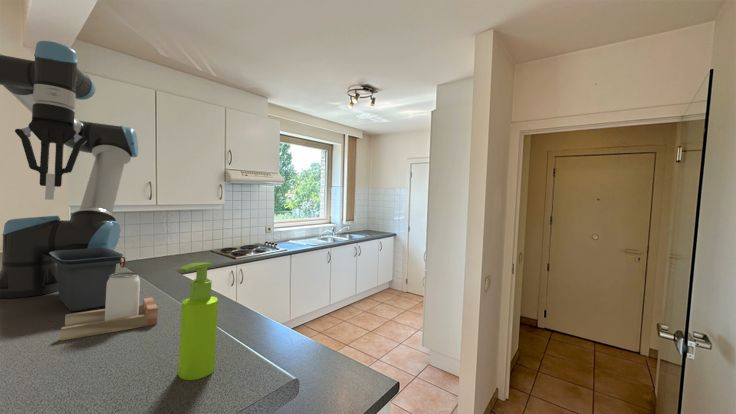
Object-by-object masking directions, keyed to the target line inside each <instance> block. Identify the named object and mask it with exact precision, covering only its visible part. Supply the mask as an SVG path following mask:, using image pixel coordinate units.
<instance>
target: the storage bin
mask: <svg viewBox="0 0 736 414" xmlns="http://www.w3.org/2000/svg"><path fill="white" fill-rule="evenodd" d="M49 254H50V255H51V256H52V257H51V260H52V261H53V262H55V263H56V264H57V275H58V291H57V292H58V299H59V300H60V301H61V303H63V305H65V306H66V308H67V309H68V310H69V311H70V312H79V311H85V310H91V309H95V308H100V307H105V304H106V286H107V281H108V280H109V278H110V277H109V276H110V275H111V274H115V273H116V270H117V264H119V265H120V267H121V268H125V267H126V257H125V256H124V254H123V253H121V252H118V251H116V250H115V249H114V250H111V249H108V248H89V249H73V250H58V251H52V252H50V253H49ZM122 259H123V261H122Z"/></svg>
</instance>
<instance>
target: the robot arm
mask: <svg viewBox="0 0 736 414" xmlns="http://www.w3.org/2000/svg"><path fill="white" fill-rule="evenodd" d="M33 56H34V60H31V59H25V58H20V57H14V56H9V55H3V54H1V53H0V86H3V88H4V89H6V90H7V91H8V92H9V93H11V95H13V96H14V97H15V98H16V99H17V100H18V101H19V102H20V103H21V104H22V105H23V106H24V107H25V108H26V109H27V110H28V111H29V112H31V121H30V122H29V123H28V126H26V127H22V128H15V129H14V132H15V134H16V135H17V136H18V137H19V138H20V140H21V144H22V146H23V150H24V154H25V157H26V160H27V163H28V168H29V169H31V170H34V171H36V172H37V173H39V185H40V186H42V187H45V191H44V192H45V195H44V199H45V201H46V200H51V201H53V200H56V187H59V188H61V186H62V183H63V175H65V174H68V173H72V171H73V169H74V166H75V164H76V162H77V159H78V156H79V154H80V152H82V153H89V154H92V156H93V157H94V161H93V164H92V168H91V171H90V175H89V177H88V182H87V185H86V188H85V191H84V194H83V198H82V199H81V205H80V207H79V209H78V210H77V211H74V212H73V213H72V214H71V216H70V219H69V220H61V218H60V216H59V215H50V216H49V215H45V216H34V217H20V218H12V219H9V220H6V222H5V223H4V226H3V233H2V256H1V259H2V262H1V269H0V299H13V298H14V299H15V298H16V299H17V298H27V297H34V296H41V295H46V294H52V293H54V292H58V275H57V264H56V263H55V262H53V261H52V260H51V257H52V256H51V255H50V254H49V253H50V252H52V251H58V250H73V249H89V248H108V249H111V250H114V251H115V249H116V247H117V245H118V243H119V241H120V233H121V225H120V223H119V222H118V221H117V218H116V217H115V216H114V215H113V212H114V209H115V202H116V201H117V199H116V198H117V196H118V191H119V187H120V183H121V179H122V176H123V171H124V167H125V165H127V164H129V163H130V162H131V160H132V158H137V157H138V156H139V143H138V138H137V133H136V130H135V129H134V128H132V127H127V126H124V125H115V124H114V125H113V124H106V123H105V124H104V123H99V122H90V121H84V120H79V119H78V118H77V117H75V115H76V114H75V113H76V112H75V111H74V109H75V108H76V100H81V101H83V100H88V99H90V98H92V97H93V96H94V95H95V93H96V86H95V83H94V82H93V80H92V79H91V78H90V76H89V75H88V74H87V73H85V72H84V71H82V70H81V69H80V68H79V67H78V63H79V61H78V54H77V52H76V51H75V49H73V48H71V47H69V46H67V45H65V44H62V43H58V42H54V41H50V40H39V41H37V43H35V49H34V54H33ZM31 132H32V134H34V135H35V136H36V137H37V139H38V140H39V141H40V158H39V159H40V160H39V165H38V163H37V160H36V156H35V153H34V152H35V151H34V149H33V146H32V143H31V140H30V139H31V138H30V137H31V136H32V134H31ZM51 144H55V153H54V155H55V158H54V159H55V160H54V173H49V161H50V145H51ZM64 145H65V146H66V147H69V148H71V149H72V150H71V152H70V155H69V158H68V160H67V163H66V165H65V167H64V168H63V162H64V147H65V146H64Z"/></svg>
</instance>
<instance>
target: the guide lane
mask: <svg viewBox="0 0 736 414" xmlns="http://www.w3.org/2000/svg"><path fill="white" fill-rule="evenodd" d="M158 309H159V307H158V305H157V303H156V301H155V299H154V297H153V296H152V297H144V298H143V303H141V304H140V303H139V310H138V316H132V317H125V318H119V319H112V320H106V321H105V308H103V309H96V310H95V309H94V310H90V311H89V310H88V311H81V312H74V313H67V314H66V313H65V315H64V317H65V318H64V326H61V330H60V341H61V342H62V341H66V340H67V341H68V340H75V339H79V338H84V337H86V338H87V337H90V336H97V335H102V334H107V333H114V332H119V331H125V330H131V329H136V328H141V327H143V328H144V327H148V326H154V325H158Z"/></svg>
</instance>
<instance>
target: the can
mask: <svg viewBox="0 0 736 414" xmlns="http://www.w3.org/2000/svg"><path fill="white" fill-rule="evenodd" d="M109 277H110V278H109V280H108V281H107V286H106V304H105V306H104V307H105V308H104V309H105V320H104V321H106V320H112V319H119V318H125V317H132V316H138V310H139V304H140V292H141V291H140V290H141V289H140V287H141V279H140V276H139V273H138V272H135V271H134V272H133V271H128V272H127V271H126V272H123V271H122V272H118V273H117V272H115V274H111V275H110V276H109Z"/></svg>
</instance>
